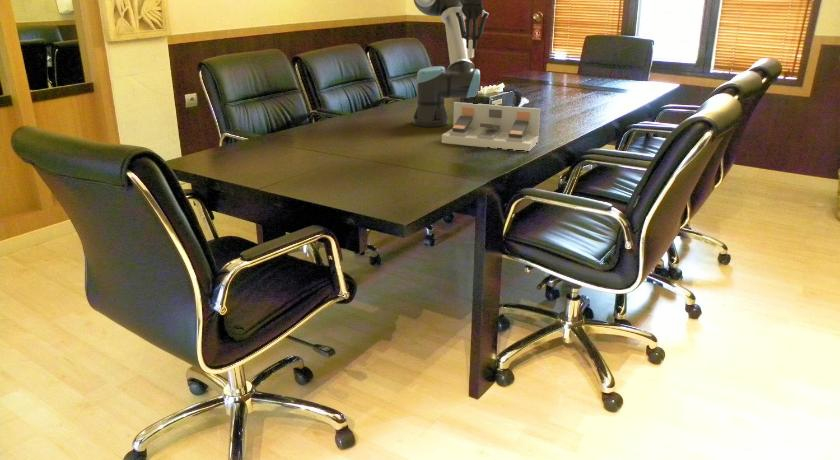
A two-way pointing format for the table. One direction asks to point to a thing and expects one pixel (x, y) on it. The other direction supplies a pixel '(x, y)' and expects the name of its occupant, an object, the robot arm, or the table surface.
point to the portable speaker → (516, 97)
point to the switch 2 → (489, 125)
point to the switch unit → (491, 136)
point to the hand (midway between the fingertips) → (471, 57)
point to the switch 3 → (518, 128)
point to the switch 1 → (462, 123)
